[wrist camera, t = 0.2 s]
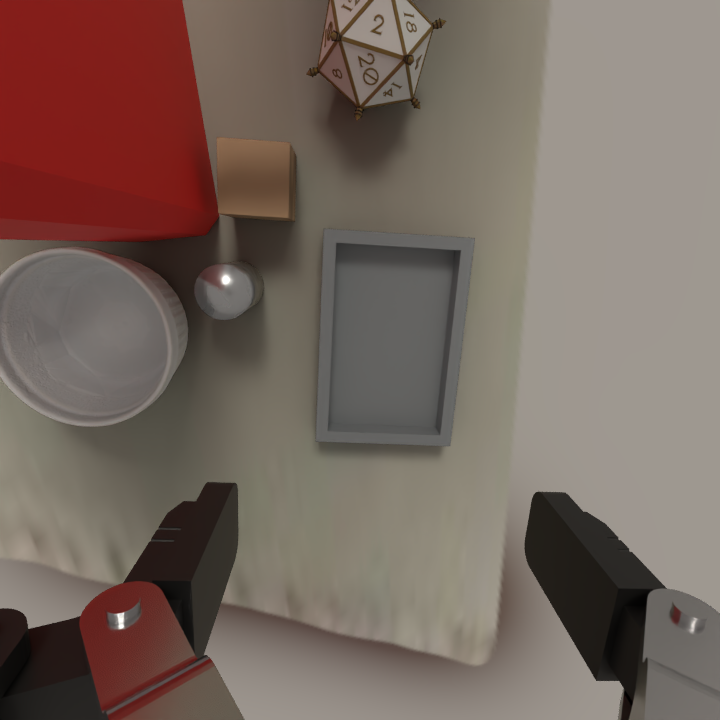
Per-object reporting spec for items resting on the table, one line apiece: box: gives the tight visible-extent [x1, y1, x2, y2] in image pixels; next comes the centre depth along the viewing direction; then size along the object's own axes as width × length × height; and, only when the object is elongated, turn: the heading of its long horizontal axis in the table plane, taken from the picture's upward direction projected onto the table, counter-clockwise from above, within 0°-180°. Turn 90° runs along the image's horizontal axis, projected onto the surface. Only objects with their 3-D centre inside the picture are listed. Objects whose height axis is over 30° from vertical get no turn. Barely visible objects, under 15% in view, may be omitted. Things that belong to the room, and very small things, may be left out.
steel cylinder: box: [194, 261, 264, 320], centre depth 35 cm, size 4×4×6 cm
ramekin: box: [0, 247, 188, 427], centre depth 35 cm, size 13×13×7 cm
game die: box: [307, 0, 446, 121], centre depth 30 cm, size 9×8×10 cm
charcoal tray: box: [316, 229, 475, 446], centre depth 38 cm, size 18×12×2 cm, turn 177°
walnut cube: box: [217, 137, 296, 222], centre depth 34 cm, size 5×5×5 cm
